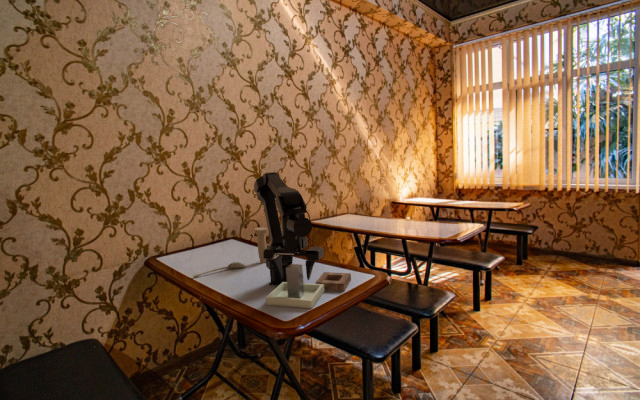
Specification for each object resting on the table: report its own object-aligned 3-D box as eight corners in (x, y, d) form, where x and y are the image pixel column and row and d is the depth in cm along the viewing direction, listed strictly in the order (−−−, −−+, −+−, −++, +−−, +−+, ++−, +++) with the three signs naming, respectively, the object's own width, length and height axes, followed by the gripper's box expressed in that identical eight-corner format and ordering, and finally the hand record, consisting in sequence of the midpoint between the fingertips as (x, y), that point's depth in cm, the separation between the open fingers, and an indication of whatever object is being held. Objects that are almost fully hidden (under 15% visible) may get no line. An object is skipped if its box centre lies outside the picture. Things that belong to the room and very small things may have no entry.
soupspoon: (248, 269, 145) (243, 267, 150) (248, 262, 144) (242, 259, 150) (195, 281, 132) (191, 277, 138) (194, 272, 132) (190, 269, 138)
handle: (264, 259, 154) (261, 226, 153) (272, 261, 150) (269, 228, 148) (255, 261, 151) (252, 228, 149) (262, 264, 146) (259, 230, 145)
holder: (315, 289, 116) (315, 282, 115) (324, 278, 125) (324, 272, 125) (344, 291, 113) (344, 283, 112) (351, 280, 122) (350, 273, 122)
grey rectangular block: (288, 298, 108) (285, 268, 107) (292, 293, 112) (290, 264, 111) (299, 299, 107) (297, 268, 106) (304, 294, 111) (302, 264, 109)
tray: (266, 305, 106) (265, 297, 105) (283, 288, 118) (282, 282, 118) (311, 308, 101) (311, 300, 101) (324, 291, 113) (324, 284, 113)
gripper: (327, 225, 111) (330, 271, 113) (275, 225, 117) (278, 269, 119) (316, 233, 101) (319, 284, 103) (260, 233, 107) (264, 280, 109)
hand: (295, 278), depth 109 cm, fingers open, 9 cm apart
